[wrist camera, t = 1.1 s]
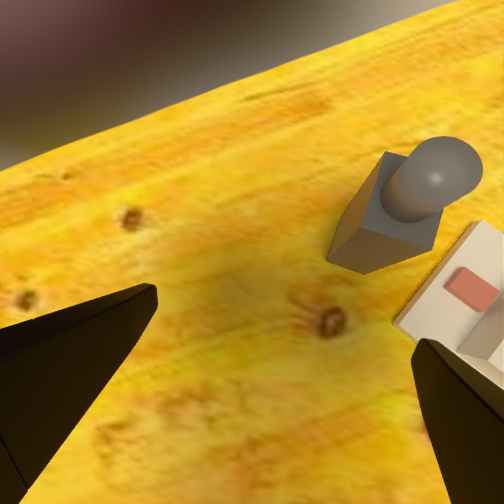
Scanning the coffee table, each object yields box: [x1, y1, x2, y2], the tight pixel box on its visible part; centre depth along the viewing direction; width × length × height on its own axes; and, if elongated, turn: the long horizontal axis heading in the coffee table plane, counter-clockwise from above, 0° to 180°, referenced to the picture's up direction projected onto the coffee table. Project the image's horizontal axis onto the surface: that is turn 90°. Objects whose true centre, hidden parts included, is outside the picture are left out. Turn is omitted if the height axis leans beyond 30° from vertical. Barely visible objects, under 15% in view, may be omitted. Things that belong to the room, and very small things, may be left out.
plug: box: [326, 136, 483, 275], centre depth 16 cm, size 4×3×13 cm
